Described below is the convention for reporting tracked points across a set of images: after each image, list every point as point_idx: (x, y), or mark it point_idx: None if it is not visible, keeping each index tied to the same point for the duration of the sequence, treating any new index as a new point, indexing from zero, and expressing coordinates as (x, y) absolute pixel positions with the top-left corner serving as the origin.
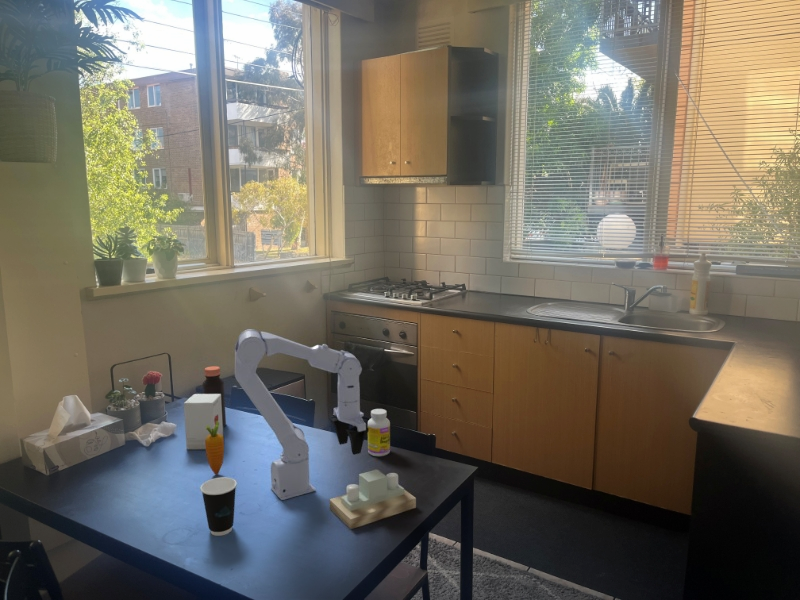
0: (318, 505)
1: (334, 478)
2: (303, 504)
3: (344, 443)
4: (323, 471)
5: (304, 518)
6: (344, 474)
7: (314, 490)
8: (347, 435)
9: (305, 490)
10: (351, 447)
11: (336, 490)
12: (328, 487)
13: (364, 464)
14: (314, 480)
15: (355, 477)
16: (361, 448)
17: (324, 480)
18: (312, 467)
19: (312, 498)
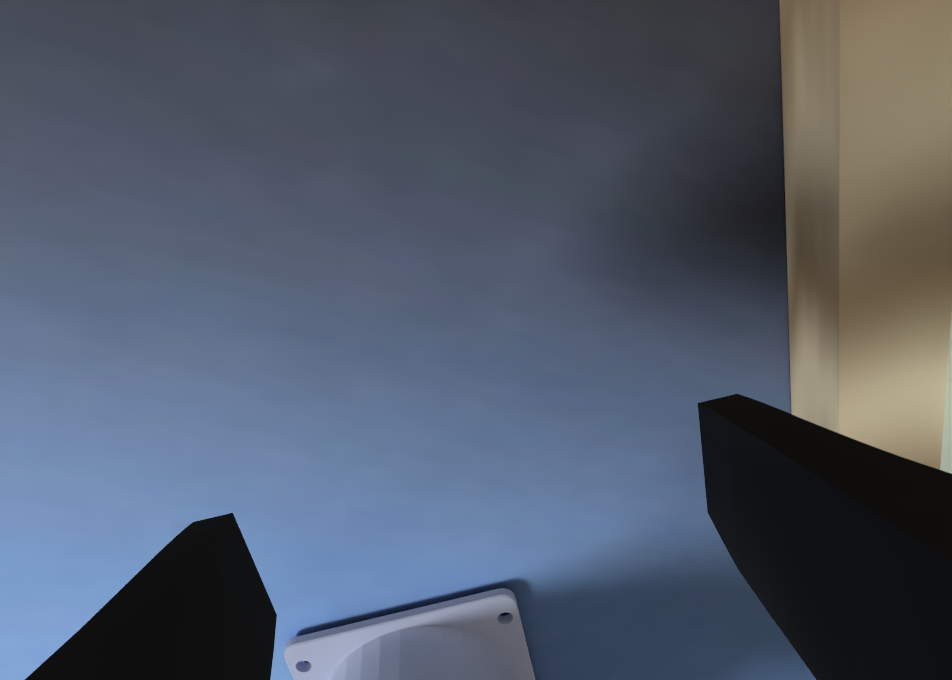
0: (712, 589)
1: (335, 425)
2: (653, 663)
3: (247, 556)
4: (163, 486)
5: None
6: (277, 328)
7: (514, 598)
8: (169, 607)
9: (510, 658)
10: (785, 620)
11: (557, 449)
12: (482, 494)
13: (69, 55)
14: (322, 569)
15: (375, 244)
16: (796, 419)
17: (347, 503)
18: (56, 555)
19: (601, 611)
